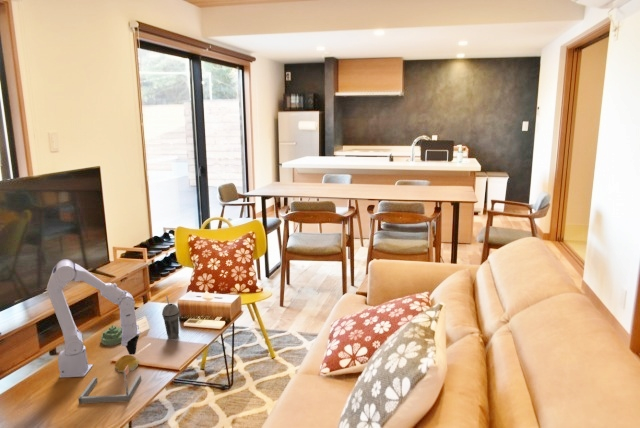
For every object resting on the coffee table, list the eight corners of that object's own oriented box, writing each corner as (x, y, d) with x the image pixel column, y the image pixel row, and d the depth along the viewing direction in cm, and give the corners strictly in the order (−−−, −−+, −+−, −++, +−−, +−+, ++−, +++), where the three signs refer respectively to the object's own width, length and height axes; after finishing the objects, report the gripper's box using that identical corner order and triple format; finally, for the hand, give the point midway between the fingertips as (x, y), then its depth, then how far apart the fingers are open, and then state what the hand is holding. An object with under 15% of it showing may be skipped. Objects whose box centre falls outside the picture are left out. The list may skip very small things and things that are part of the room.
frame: (79, 403, 163) (74, 373, 161) (94, 382, 176) (90, 353, 173) (129, 401, 164) (125, 370, 161) (141, 379, 177) (137, 351, 174)
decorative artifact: (131, 338, 209) (118, 332, 215) (129, 323, 208) (116, 318, 214) (110, 348, 202) (97, 341, 207) (107, 332, 200) (94, 327, 206)
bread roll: (121, 375, 180) (119, 366, 179) (113, 366, 187) (112, 357, 186) (142, 367, 186) (141, 358, 185) (134, 359, 192) (133, 350, 191)
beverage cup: (185, 335, 210) (181, 293, 206) (172, 342, 204) (167, 299, 200) (174, 332, 214) (169, 290, 209) (161, 338, 208) (156, 296, 203)
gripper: (132, 330, 182) (136, 362, 185) (144, 314, 196) (148, 344, 199) (114, 331, 182) (118, 363, 185) (127, 315, 196) (131, 345, 199)
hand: (132, 353), depth 192 cm, fingers closed
